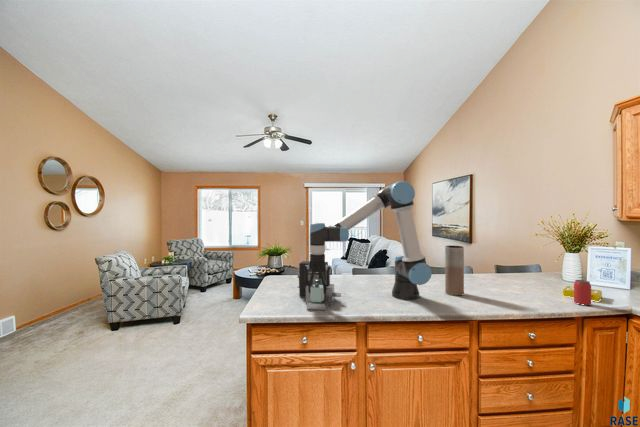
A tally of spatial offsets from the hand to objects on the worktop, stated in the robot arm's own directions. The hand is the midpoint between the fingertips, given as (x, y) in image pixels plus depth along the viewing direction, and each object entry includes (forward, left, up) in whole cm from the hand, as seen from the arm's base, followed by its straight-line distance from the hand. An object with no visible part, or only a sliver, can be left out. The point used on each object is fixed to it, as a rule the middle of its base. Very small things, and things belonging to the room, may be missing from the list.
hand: (317, 299), depth 145 cm
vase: (-75, -38, -4) cm, 84 cm away
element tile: (-144, -42, -5) cm, 150 cm away
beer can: (-135, -28, -4) cm, 137 cm away
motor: (-2, -4, -4) cm, 6 cm away
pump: (0, 0, 0) cm, 0 cm away
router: (+6, -21, -4) cm, 22 cm away
